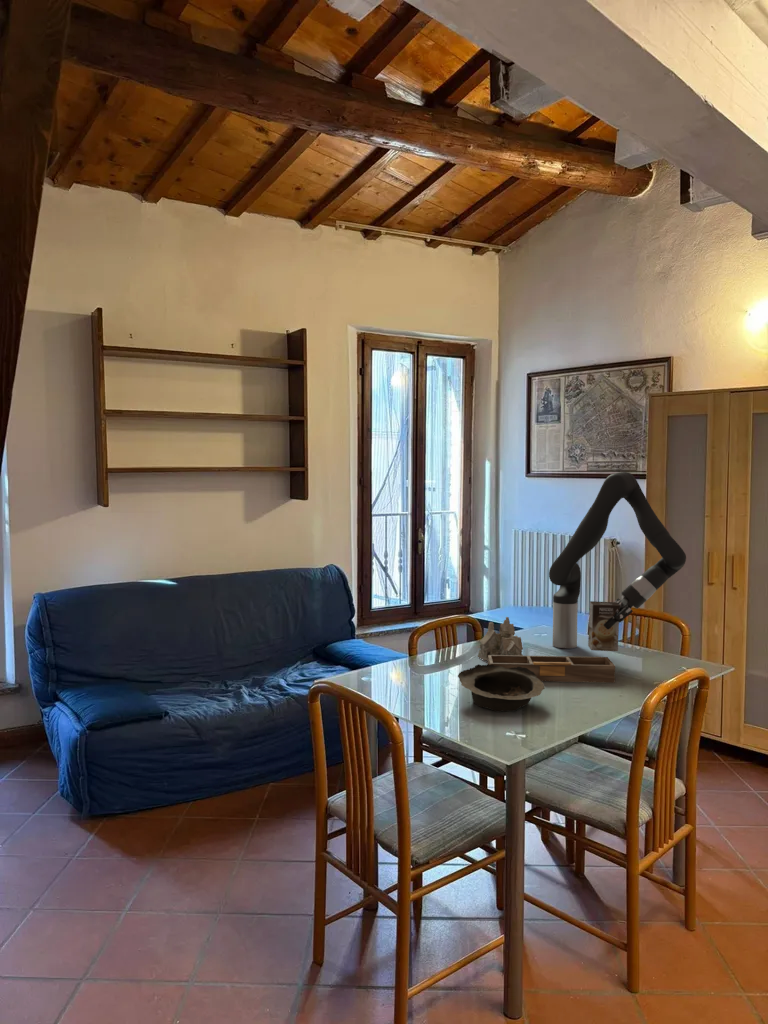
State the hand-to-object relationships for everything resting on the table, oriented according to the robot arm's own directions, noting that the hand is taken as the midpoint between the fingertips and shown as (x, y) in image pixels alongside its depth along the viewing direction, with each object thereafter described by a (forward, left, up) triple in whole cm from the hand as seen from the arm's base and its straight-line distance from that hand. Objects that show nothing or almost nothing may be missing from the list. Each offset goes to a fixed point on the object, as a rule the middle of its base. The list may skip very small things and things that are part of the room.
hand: (603, 624), depth 251 cm
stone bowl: (+41, -38, -15) cm, 58 cm away
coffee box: (0, 0, -9) cm, 9 cm away
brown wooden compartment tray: (+12, -20, -15) cm, 28 cm away
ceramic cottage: (-9, -34, -15) cm, 39 cm away
